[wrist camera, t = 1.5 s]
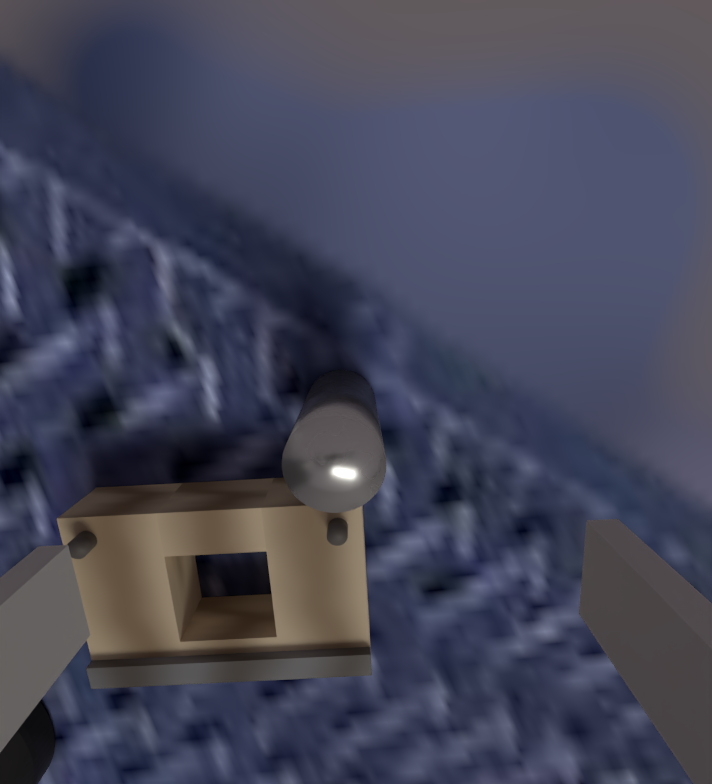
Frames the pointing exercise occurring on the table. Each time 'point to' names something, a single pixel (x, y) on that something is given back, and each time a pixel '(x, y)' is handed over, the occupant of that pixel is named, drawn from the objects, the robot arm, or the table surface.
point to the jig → (217, 614)
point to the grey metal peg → (336, 445)
